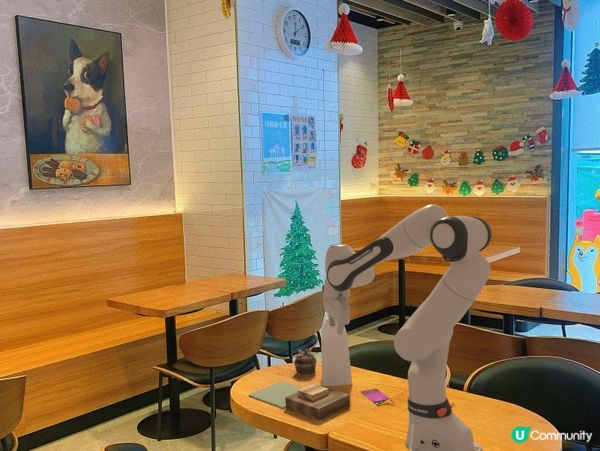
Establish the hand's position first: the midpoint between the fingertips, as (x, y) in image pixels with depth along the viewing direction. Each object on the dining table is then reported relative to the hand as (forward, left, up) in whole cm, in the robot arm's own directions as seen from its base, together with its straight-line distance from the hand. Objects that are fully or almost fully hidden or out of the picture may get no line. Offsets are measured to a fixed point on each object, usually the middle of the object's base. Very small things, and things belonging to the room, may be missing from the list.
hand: (335, 330), depth 194 cm
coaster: (+13, 0, -26) cm, 29 cm away
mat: (+30, 0, -30) cm, 42 cm away
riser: (+11, 0, -30) cm, 32 cm away
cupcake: (+40, -23, -30) cm, 55 cm away
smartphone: (-1, -20, -31) cm, 36 cm away
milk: (+23, -24, -30) cm, 45 cm away
